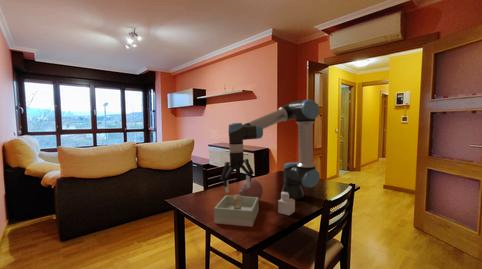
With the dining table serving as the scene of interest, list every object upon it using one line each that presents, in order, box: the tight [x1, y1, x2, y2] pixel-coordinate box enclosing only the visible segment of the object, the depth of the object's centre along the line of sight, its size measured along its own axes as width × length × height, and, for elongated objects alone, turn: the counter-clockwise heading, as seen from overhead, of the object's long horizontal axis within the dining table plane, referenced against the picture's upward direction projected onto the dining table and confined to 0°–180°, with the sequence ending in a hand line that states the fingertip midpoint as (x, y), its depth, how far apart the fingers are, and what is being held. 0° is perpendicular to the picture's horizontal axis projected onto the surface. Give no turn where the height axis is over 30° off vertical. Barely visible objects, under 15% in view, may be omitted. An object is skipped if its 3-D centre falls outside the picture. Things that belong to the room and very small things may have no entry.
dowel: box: [233, 193, 241, 209], centre depth 124 cm, size 4×4×12 cm
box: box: [213, 194, 260, 228], centre depth 124 cm, size 20×20×8 cm
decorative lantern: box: [237, 178, 264, 202], centre depth 143 cm, size 15×20×15 cm
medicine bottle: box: [277, 190, 296, 216], centre depth 129 cm, size 7×7×12 cm
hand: (238, 189), depth 124 cm, fingers open, 13 cm apart
